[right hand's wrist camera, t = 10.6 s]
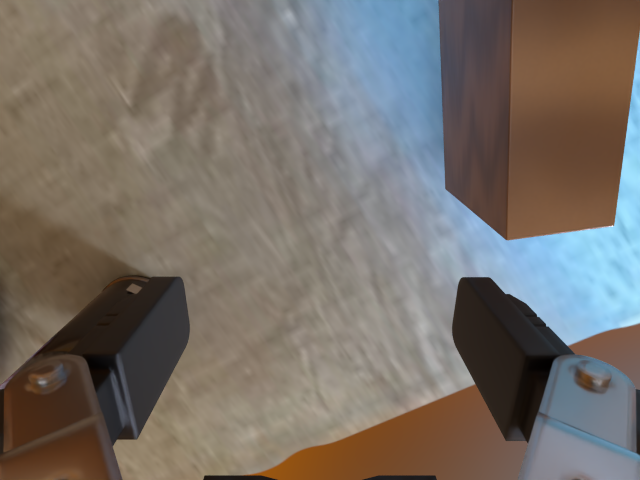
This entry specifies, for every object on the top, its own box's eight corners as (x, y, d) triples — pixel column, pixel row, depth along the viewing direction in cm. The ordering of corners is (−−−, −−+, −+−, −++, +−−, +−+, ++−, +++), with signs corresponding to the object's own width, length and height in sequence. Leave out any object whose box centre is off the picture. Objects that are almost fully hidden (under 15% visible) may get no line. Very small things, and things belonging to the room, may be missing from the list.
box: (515, 179, 35) (614, 226, 23) (445, 189, 35) (506, 241, 23) (525, -149, 26) (690, -346, 14) (433, -130, 27) (519, -306, 15)
